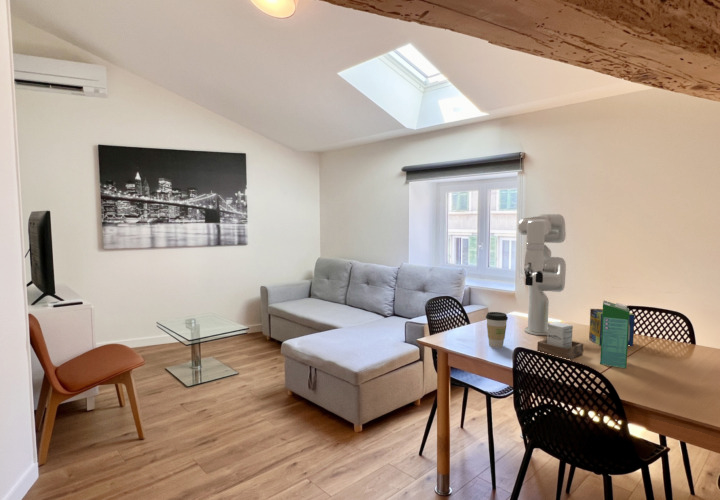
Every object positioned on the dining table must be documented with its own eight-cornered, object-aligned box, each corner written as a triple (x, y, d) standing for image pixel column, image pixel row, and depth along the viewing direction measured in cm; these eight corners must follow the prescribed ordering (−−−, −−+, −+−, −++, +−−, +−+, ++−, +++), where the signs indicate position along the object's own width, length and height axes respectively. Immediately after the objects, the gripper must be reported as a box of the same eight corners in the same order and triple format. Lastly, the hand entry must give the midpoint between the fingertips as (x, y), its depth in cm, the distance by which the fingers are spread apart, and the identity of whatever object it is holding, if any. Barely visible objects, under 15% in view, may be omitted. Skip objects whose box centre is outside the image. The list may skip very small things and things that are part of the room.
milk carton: (626, 368, 161) (629, 306, 159) (600, 364, 166) (602, 303, 164) (626, 361, 169) (629, 302, 167) (600, 357, 173) (603, 300, 172)
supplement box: (546, 351, 180) (547, 323, 179) (556, 348, 184) (557, 321, 183) (561, 356, 173) (562, 327, 172) (572, 353, 177) (573, 325, 176)
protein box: (588, 339, 200) (589, 308, 199) (621, 340, 199) (622, 309, 198) (599, 346, 190) (600, 313, 189) (633, 347, 188) (635, 314, 187)
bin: (552, 347, 188) (552, 336, 188) (582, 354, 177) (583, 343, 177) (537, 352, 180) (537, 341, 179) (568, 361, 169) (568, 349, 169)
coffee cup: (508, 349, 184) (509, 317, 183) (486, 348, 186) (486, 315, 185) (505, 343, 194) (506, 312, 193) (483, 341, 196) (484, 311, 195)
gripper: (536, 245, 196) (535, 280, 198) (517, 248, 185) (517, 285, 186) (551, 246, 190) (550, 282, 192) (534, 249, 179) (532, 287, 181)
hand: (534, 283), depth 189 cm, fingers open, 9 cm apart
